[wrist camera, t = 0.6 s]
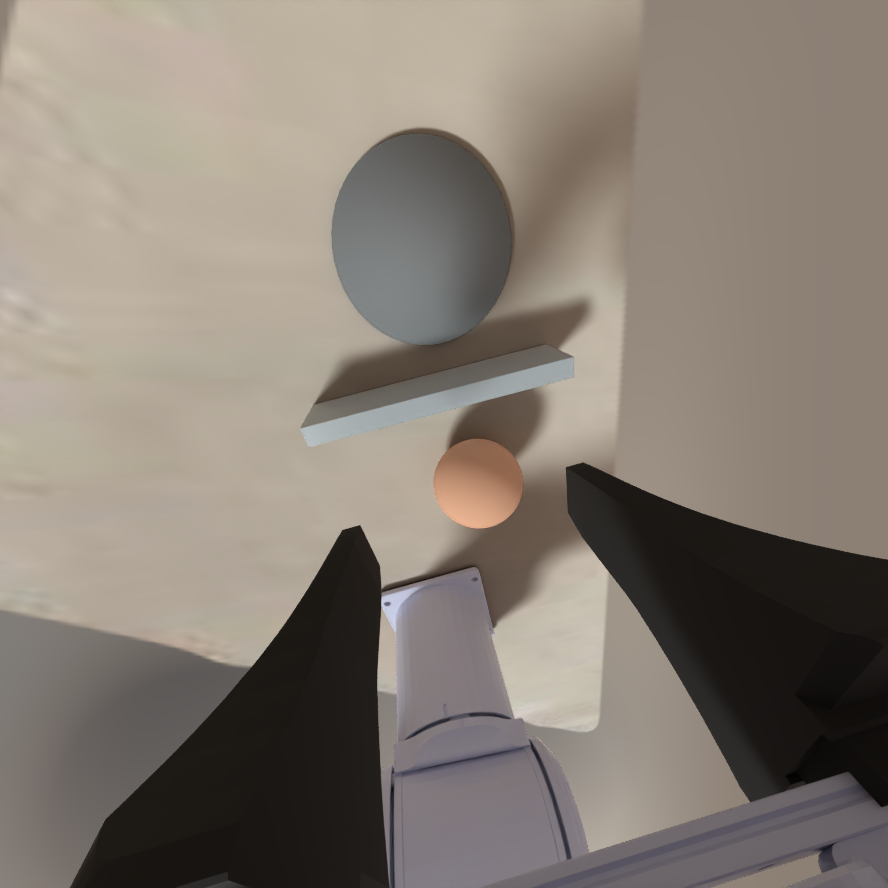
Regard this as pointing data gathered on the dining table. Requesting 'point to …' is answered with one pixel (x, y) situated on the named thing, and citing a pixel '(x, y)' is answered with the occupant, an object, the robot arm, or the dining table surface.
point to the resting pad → (421, 239)
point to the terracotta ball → (478, 483)
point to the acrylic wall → (435, 393)
